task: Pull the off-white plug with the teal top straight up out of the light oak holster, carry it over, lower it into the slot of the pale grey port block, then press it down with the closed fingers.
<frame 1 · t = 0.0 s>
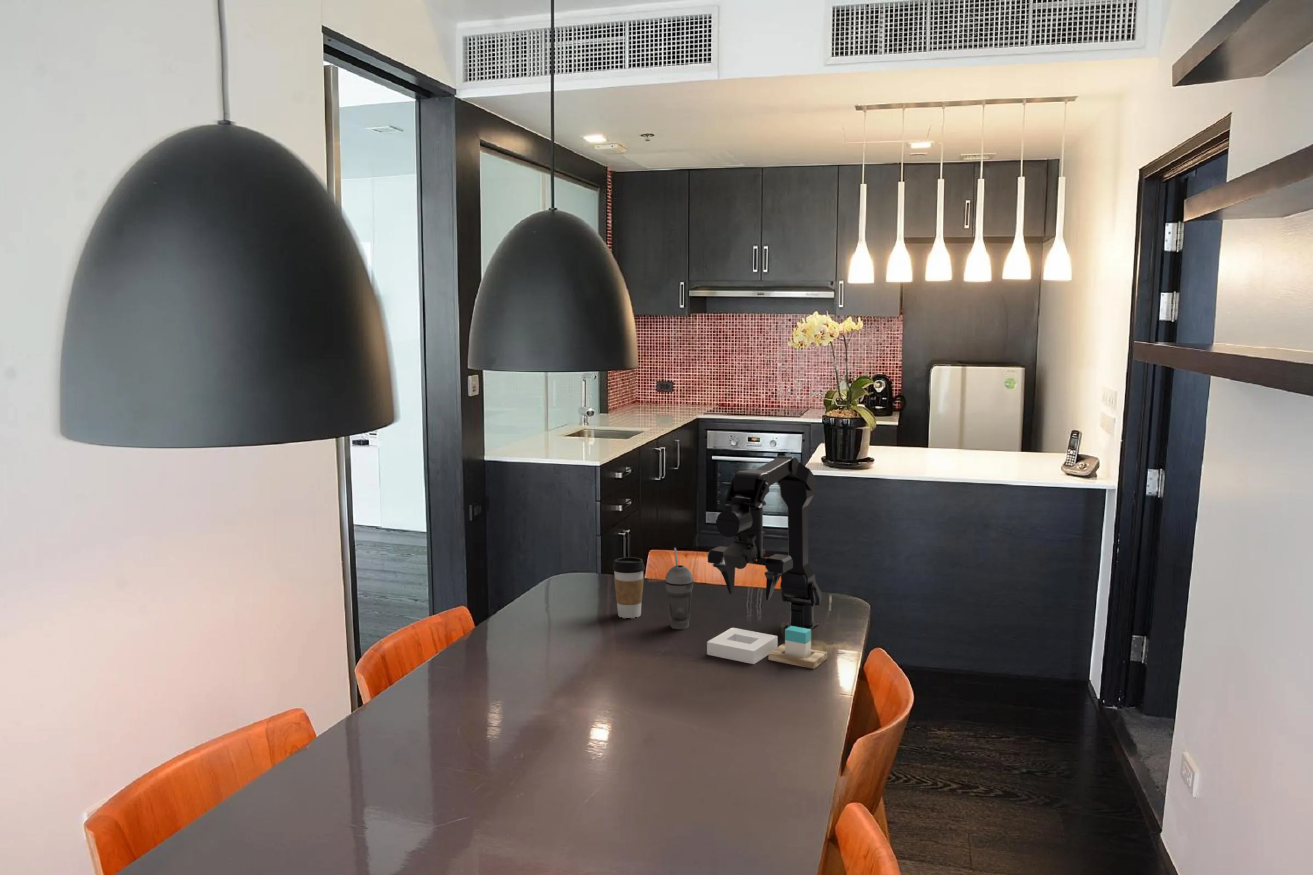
hand: (749, 596, 209), 15 cm above the table, tool pointing down, fingers open, 9 cm apart
holster: (797, 659, 211), on the table
beverage cup: (679, 627, 235), on the table
coffee cup: (629, 615, 245), on the table
port block: (742, 651, 217), on the table
plug: (798, 644, 211), in the holster
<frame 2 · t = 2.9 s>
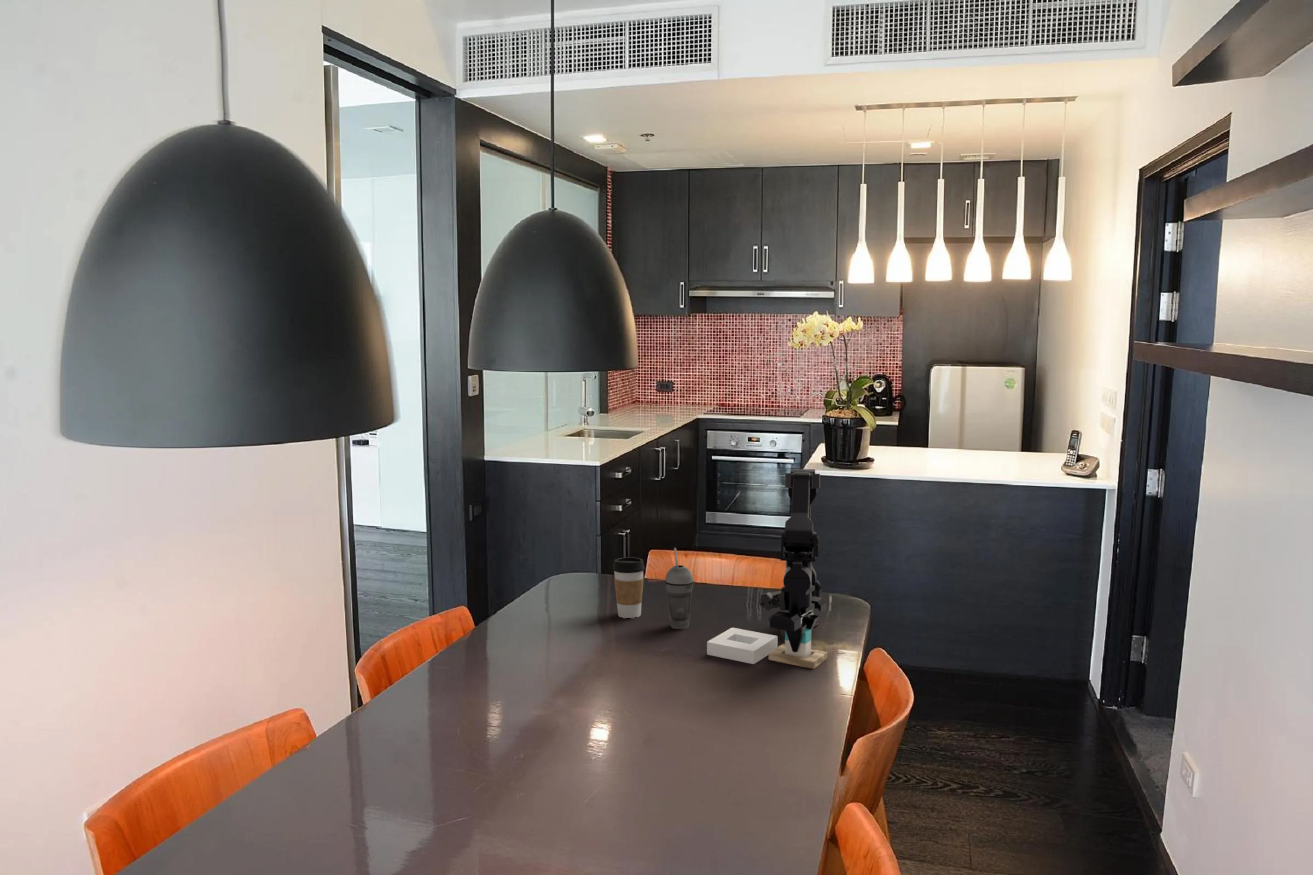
hand: (798, 649, 211), 2 cm above the table, tool pointing down, fingers closed on plug, 3 cm apart
plug: (798, 644, 211), in the holster, touching gripper
everything else where it was.
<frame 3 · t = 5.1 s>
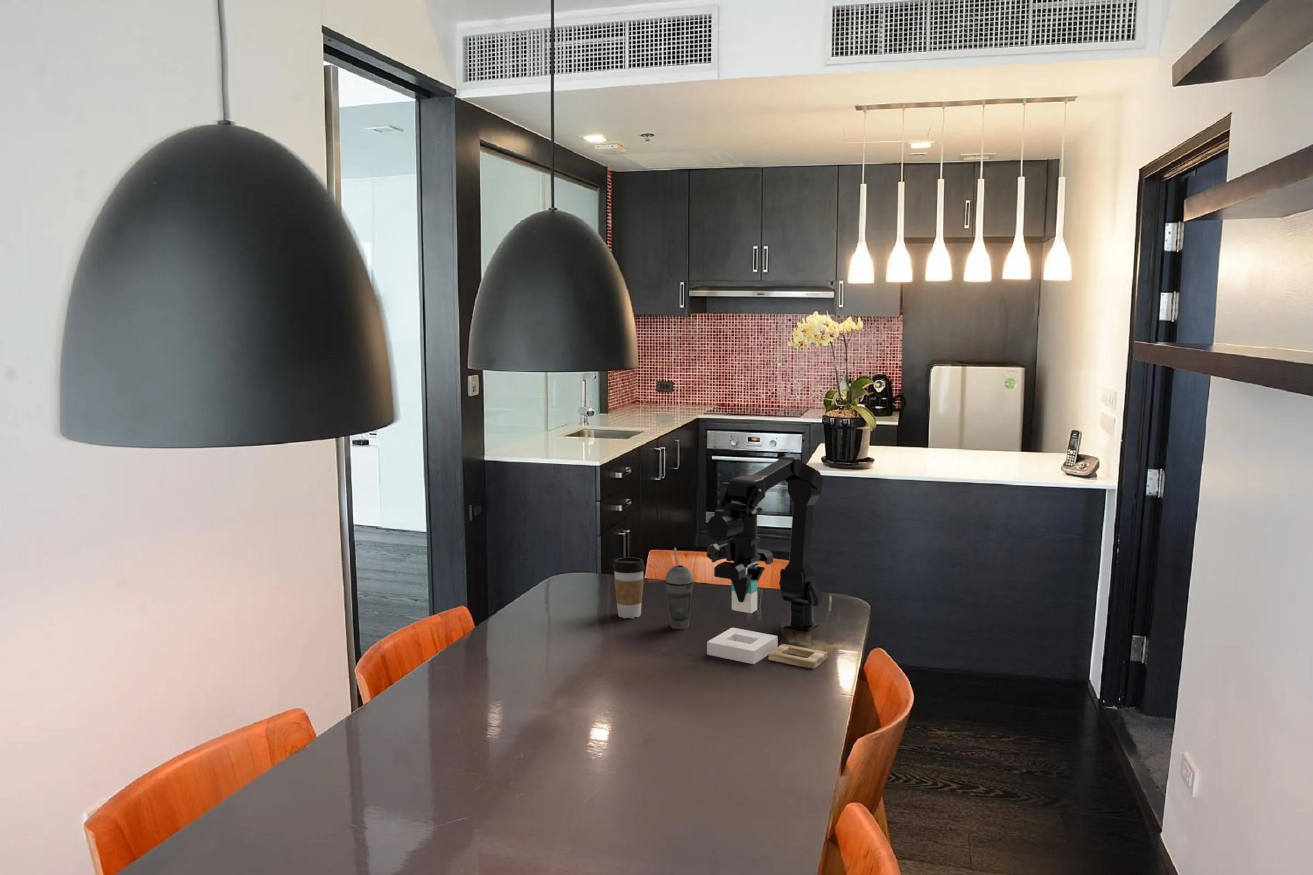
hand: (744, 600, 215), 12 cm above the table, tool pointing down, fingers closed on plug, 3 cm apart
plug: (744, 594, 215), point 14 cm above the table, touching gripper
everything else where it was.
when the fingers open (4 cm above the table, at t = 7.3 s): plug drops 1 cm, resting in port block.
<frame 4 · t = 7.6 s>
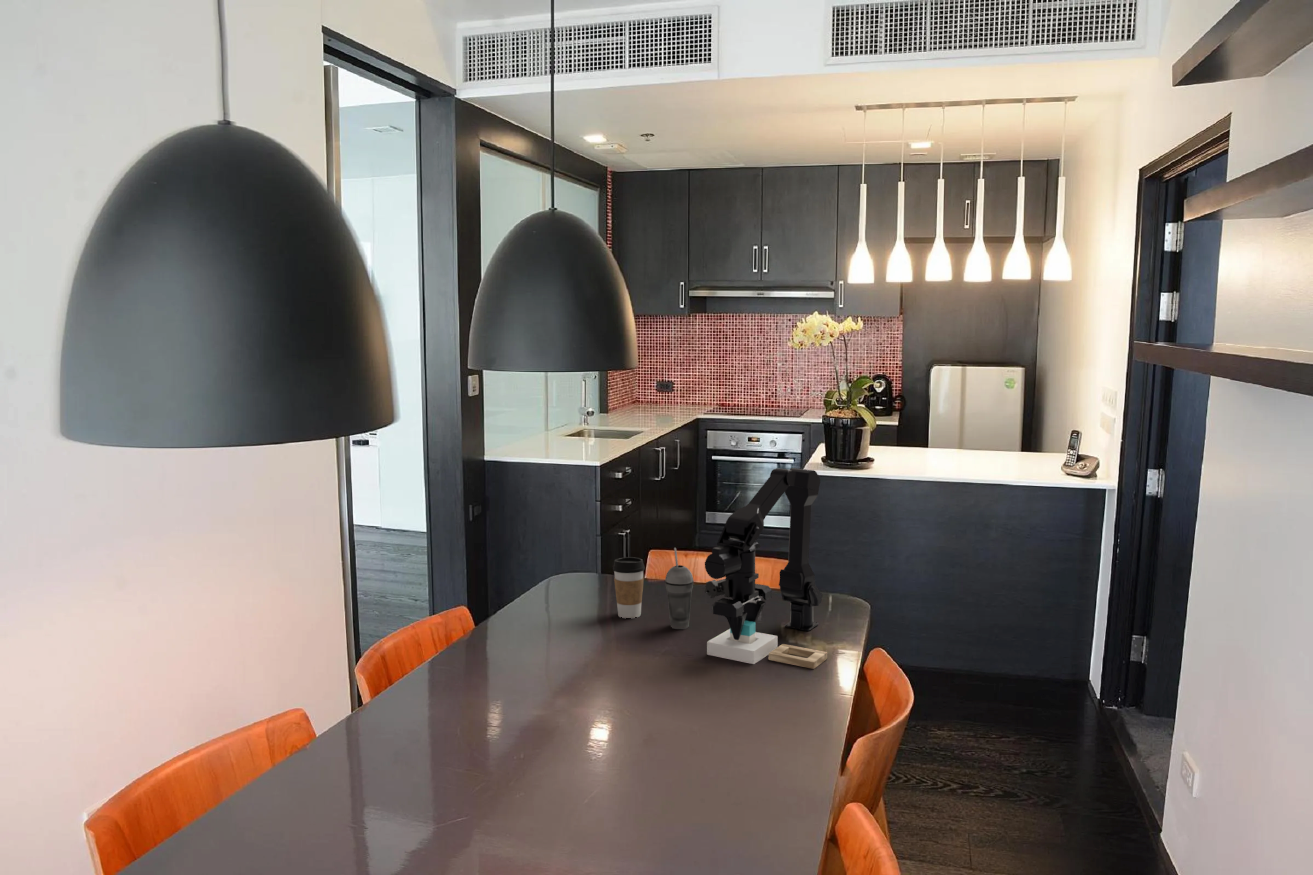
hand: (742, 635, 216), 4 cm above the table, tool pointing down, fingers open, 6 cm apart
plug: (742, 636, 216), in the port block
everything else where it was.
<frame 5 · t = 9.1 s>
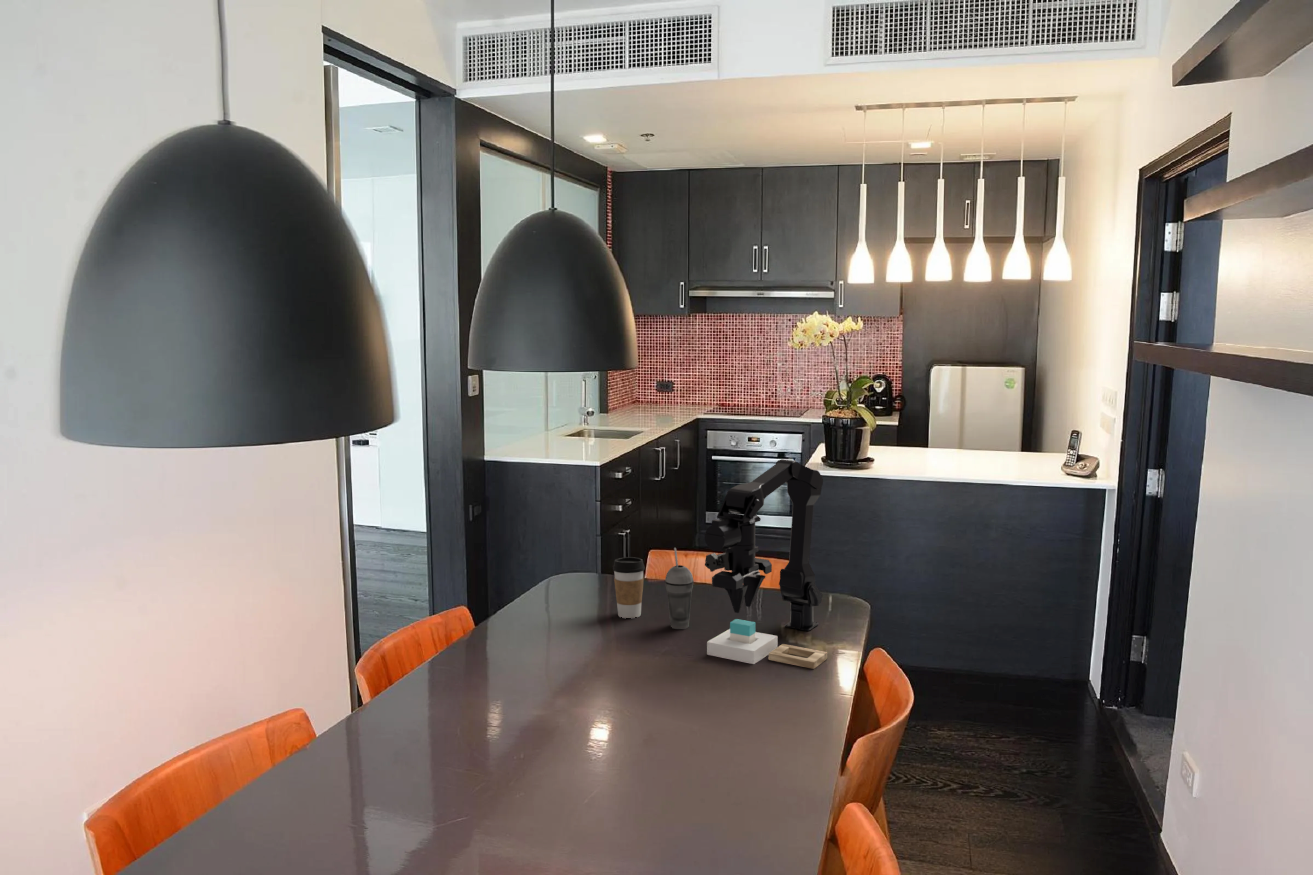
hand: (742, 609, 216), 10 cm above the table, tool pointing down, fingers open, 5 cm apart
nothing on the table moved.
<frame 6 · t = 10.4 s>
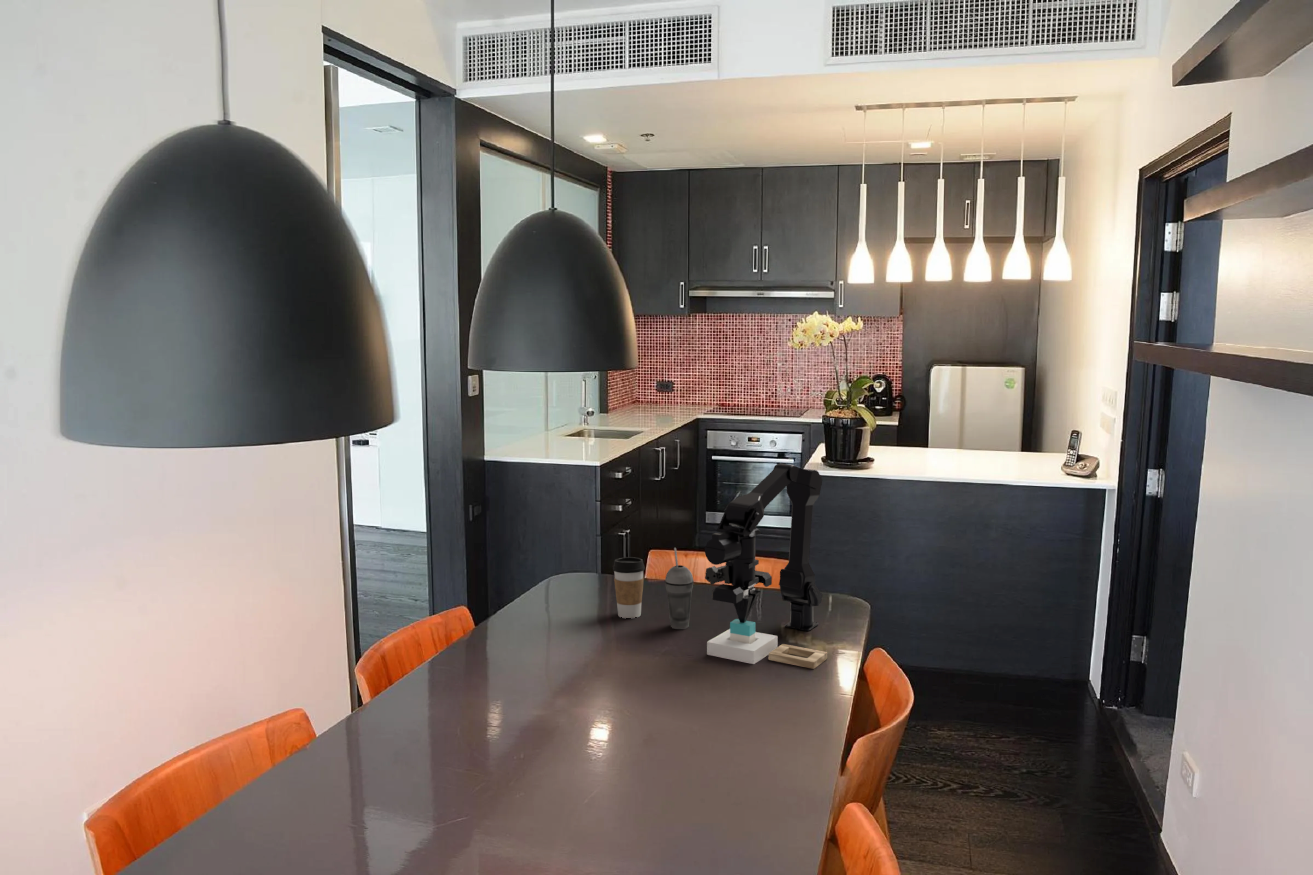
hand: (742, 622, 216), 7 cm above the table, tool pointing down, fingers closed, pressing on plug
plug: (742, 636, 216), in the port block, touching gripper
everything else where it was.
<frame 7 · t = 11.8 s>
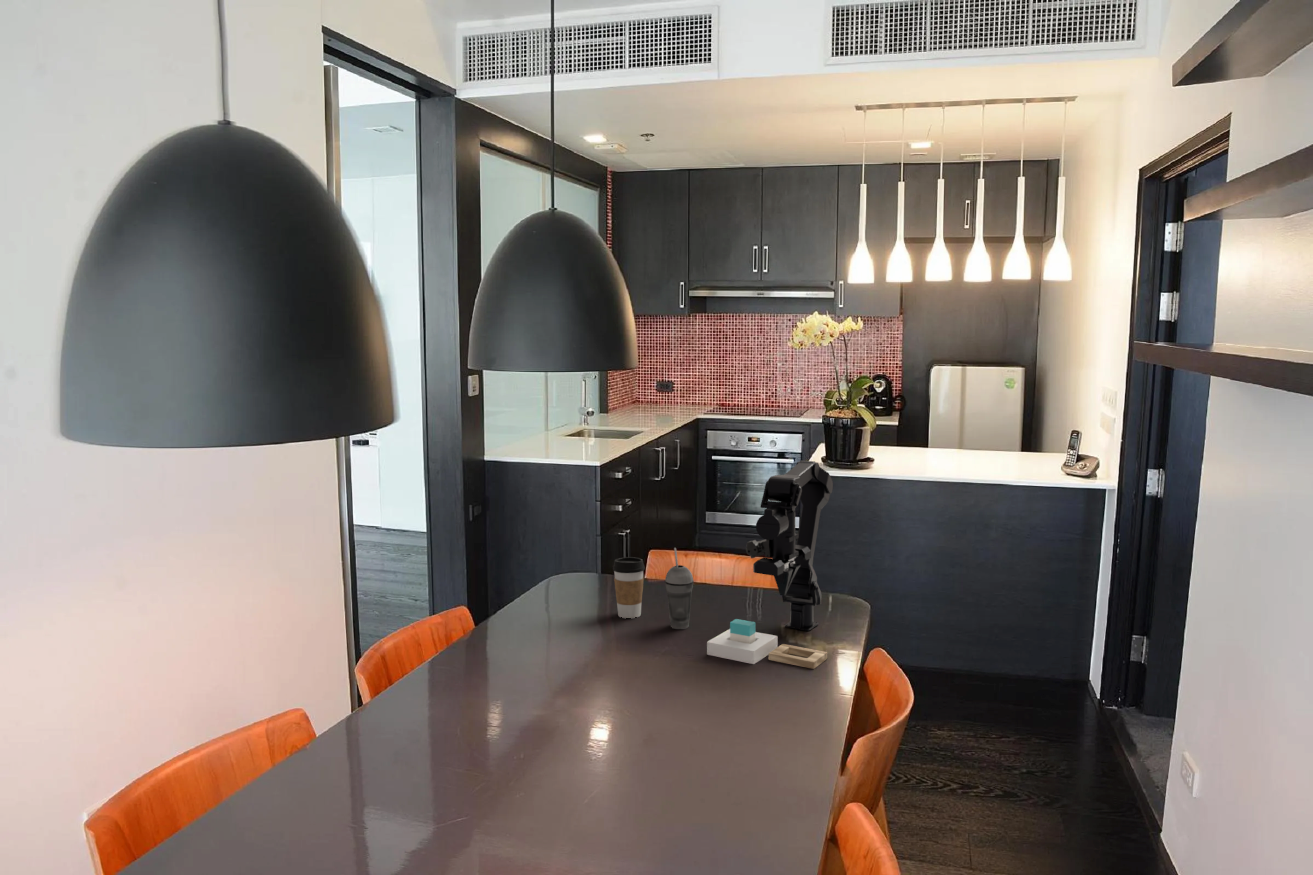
hand: (782, 595, 220), 12 cm above the table, tool pointing down, fingers closed
plug: (742, 636, 216), in the port block
everything else where it was.
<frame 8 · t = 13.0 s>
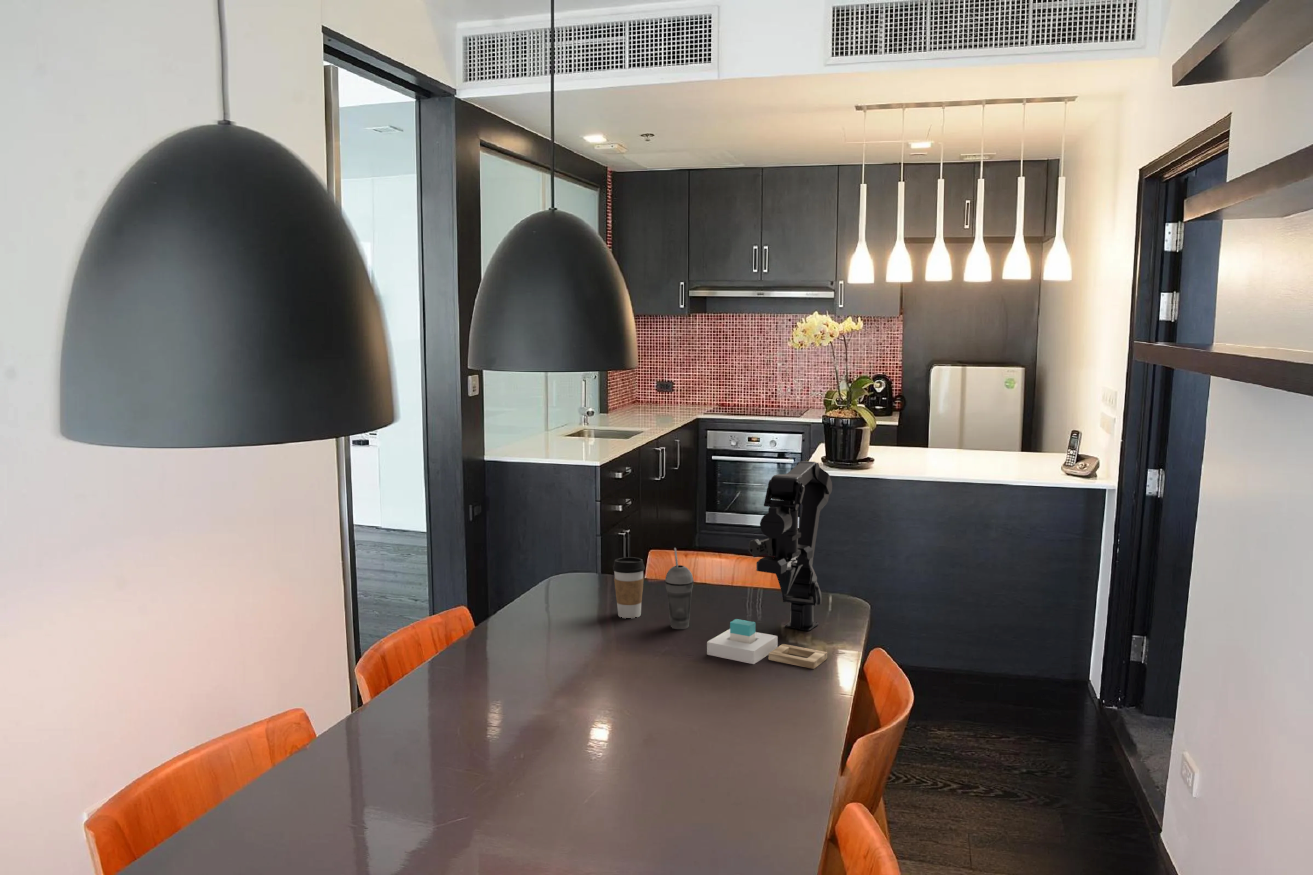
hand: (785, 594, 220), 12 cm above the table, tool pointing down, fingers closed
nothing on the table moved.
at the end: plug 0.0 cm off-centre on the port block, point 3.4 cm above the port block's base; plug tilted 0°; the gripper is holding nothing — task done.
